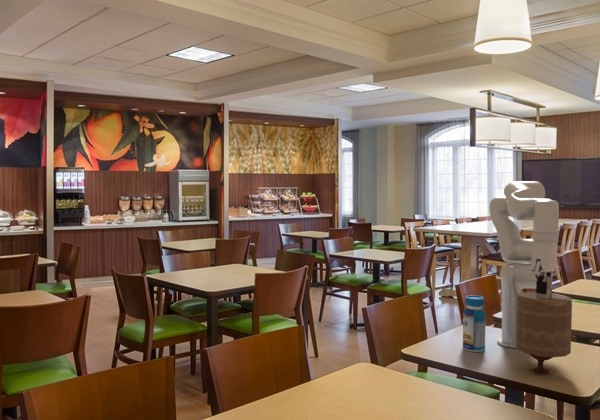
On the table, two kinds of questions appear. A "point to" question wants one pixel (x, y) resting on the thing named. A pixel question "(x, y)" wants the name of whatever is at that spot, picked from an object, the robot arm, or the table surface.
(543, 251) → the robot arm
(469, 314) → the beverage bottle
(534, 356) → the ice cream bowl
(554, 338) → the walnut cover
